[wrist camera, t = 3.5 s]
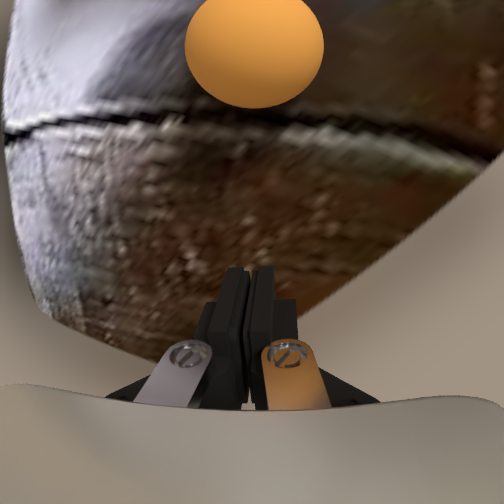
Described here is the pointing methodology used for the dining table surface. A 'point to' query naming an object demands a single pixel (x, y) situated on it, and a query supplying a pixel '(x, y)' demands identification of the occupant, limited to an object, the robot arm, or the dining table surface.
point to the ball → (254, 50)
